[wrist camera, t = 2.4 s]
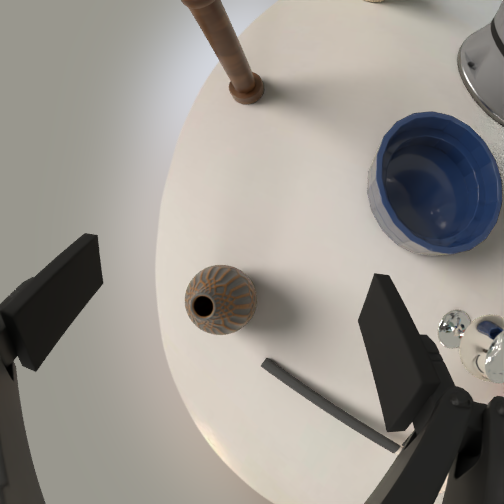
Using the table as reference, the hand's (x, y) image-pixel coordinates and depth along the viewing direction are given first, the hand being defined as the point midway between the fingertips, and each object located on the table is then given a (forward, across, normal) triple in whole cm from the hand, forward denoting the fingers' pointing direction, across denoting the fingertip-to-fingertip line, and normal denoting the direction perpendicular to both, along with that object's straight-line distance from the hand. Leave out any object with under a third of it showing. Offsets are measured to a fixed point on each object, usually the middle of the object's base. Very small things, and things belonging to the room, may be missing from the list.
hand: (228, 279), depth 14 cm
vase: (+17, -1, -13) cm, 21 cm away
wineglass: (+12, +24, -11) cm, 29 cm away
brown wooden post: (+28, -3, +9) cm, 30 cm away
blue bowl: (+20, +18, +2) cm, 27 cm away
